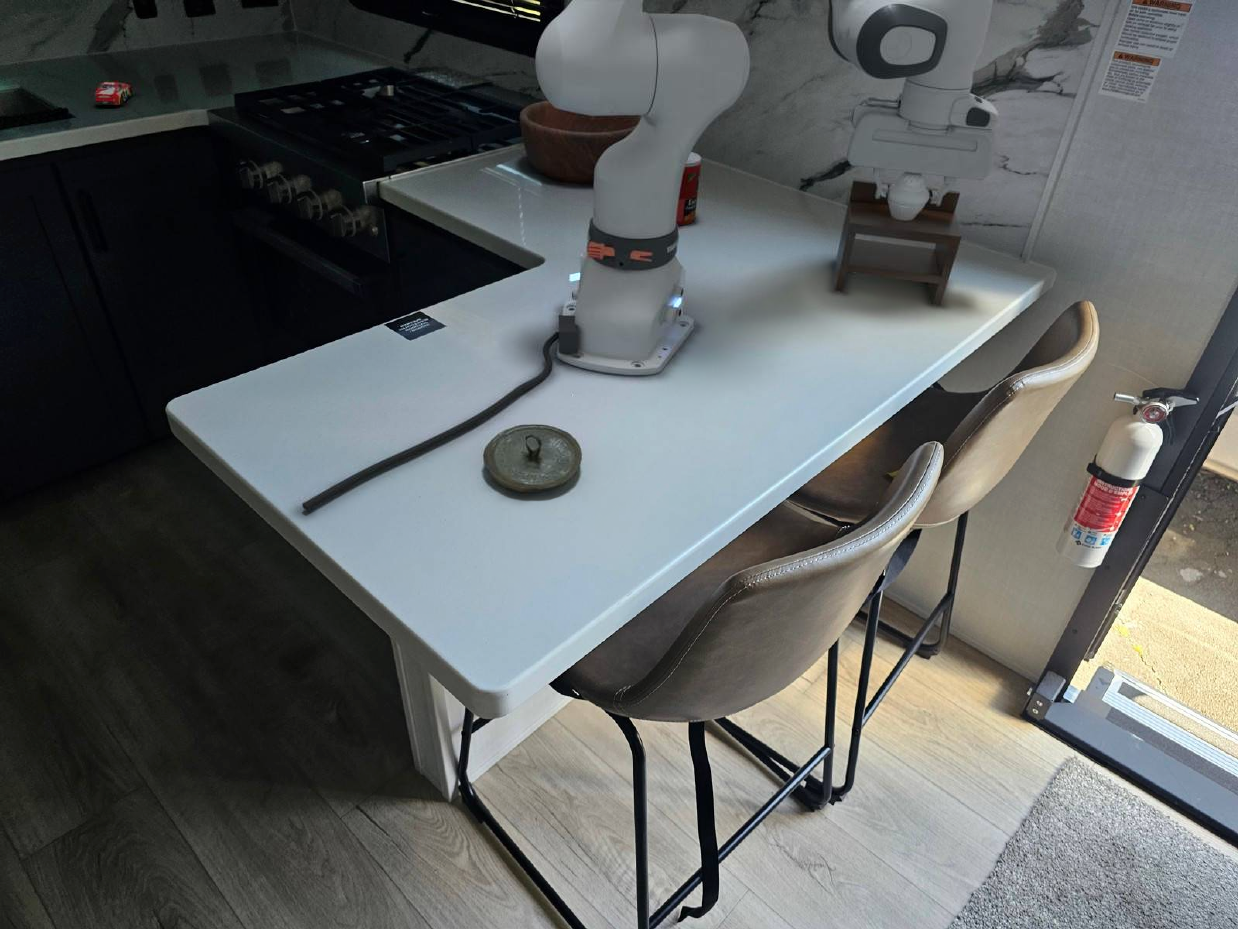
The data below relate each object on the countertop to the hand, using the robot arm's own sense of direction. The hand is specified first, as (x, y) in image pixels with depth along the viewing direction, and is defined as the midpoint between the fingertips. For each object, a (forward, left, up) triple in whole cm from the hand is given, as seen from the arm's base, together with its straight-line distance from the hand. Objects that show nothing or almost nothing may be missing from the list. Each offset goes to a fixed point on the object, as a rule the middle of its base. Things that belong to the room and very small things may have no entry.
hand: (907, 201), depth 127 cm
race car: (+45, +170, -14) cm, 176 cm away
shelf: (0, 0, -14) cm, 14 cm away
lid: (-61, +40, -14) cm, 74 cm away
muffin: (0, 0, -3) cm, 3 cm away
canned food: (+17, +37, -14) cm, 43 cm away
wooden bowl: (+38, +59, -14) cm, 71 cm away
